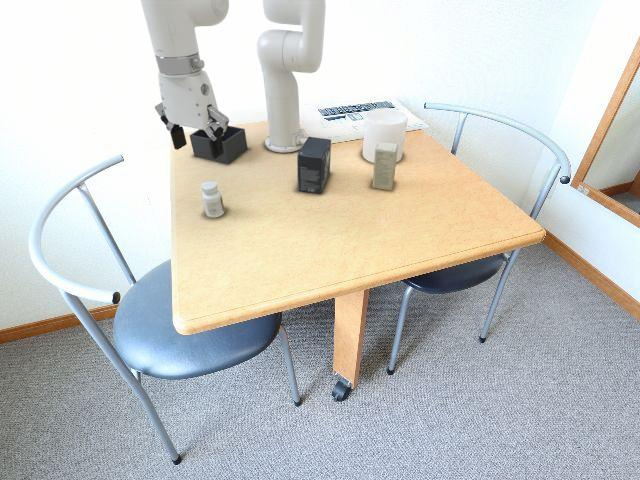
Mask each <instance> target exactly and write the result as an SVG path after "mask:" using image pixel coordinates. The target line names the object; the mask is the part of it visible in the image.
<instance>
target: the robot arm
mask: <svg viewBox="0 0 640 480" xmlns="http://www.w3.org/2000/svg"><path fill="white" fill-rule="evenodd" d="M140 4H141V8H142V11H143V15H144V19H145V23H146V26H147V30H148V34H149V38H150V42H151V45H152V50H153V54H154V57H155V61H156V65H157V68H158V71H157V75H158V76H157V77H158V87H159V93H160V98H161V102H160V103H158V104H157V105H155V106H154V110H155V111H156V113H157V114H158V116H159V117H160V120H161V122H162V123H163V124H164V125H165V128H166V130H167V131H168V132H169V134H170V137H171V141H172V144H173V148H174V150H176V151H178V150H180V149H182V148H184V147H185V146H186V145H187V144H188V142H187V138H186V134H185V130H184V127H186V128H191V129H196V130H199V129H201V130H204V131H205V132H206V133H207V135H208V136H209V137H210V138H211V139H210V140H209V145H210V150H211V155H212V158H214V159H216V158H217V157H219V156H220V155H222V154H223V153H224V150H223V144H222V138H221V136H223V135H224V133H225V132H226V130H227V126H229V122H230V118H229V117H228V116H227V115H225V114H224V113H222V112H221V111H220V110H219V109H218V104H217V100H216V96H215V93H214V89H213V86H212V83H211V80H210V77H209V75H208V73H207V71H206V70H203V69H204V68H205V65H206V64H205V61H204V60H203V59H201V56H200V55H201V54H200V51H199V45H198V39H197V34H196V28H197V27H214V26H217V25H219V24H221V23H223V21H224V20H225V19H226V18H227V16H228V13H229V8H230V1H229V0H140ZM326 7H327V6H326V0H262V8H263V14H264V17H265V18H266V19H267V20H268V22H271V23H274V24H279V25H280V24H281V25H291V26H301V29H302V31H298V30H297V31H296V30H287V29H268V30H265V31H264V32H262V33H261V34H260V35H259V36H258V39H257V41H256V53H257V57H258V61H259V65H260V68H261V72H262V73H261V74H262V76H263V77H262V78H263V84H264V94H265V105H266V114H267V124H268V126H267V127H268V134H269V135H268V136H267V137H266V139H265V140H264V145H265V148H266V149H268V150H269V151H272V152H276V153H282V154H283V153H284V154H286V153H293V152H297V151H300V149H301V148H302V146H303V145H304V143H305V142H306V140H307V138H308V137H312V136H311V135H308V134H305V133H304V129H303V128H301V123H300V122H301V121H300V120H301V119H300V100H299V99H300V97H299V94H300V93H299V84H298V81H297V79H296V76H295V75H294V73H302V74H314V73H316V72H318V70H319V68H320V67H321V64H322V59H323V51H324V40H325V39H324V38H325V37H324V36H325V25H326V24H325V23H326ZM217 124H219V126H218V125H217ZM211 126H212V128H213V129H214V130H215V132H213V131H212V130H211V128H210V127H211Z"/></svg>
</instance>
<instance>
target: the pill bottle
mask: <svg viewBox="0 0 640 480" xmlns="http://www.w3.org/2000/svg"><path fill="white" fill-rule="evenodd" d="M201 192H202V193H201V199H202V203H203V208H204V212H205V215H206V216H207V217H209V218H218V217H221V216H222V215H224V214H225V205H224V201H223V196H222V191H220V190H219V187H218V183H217V182H216V181H213V180H209V181H205V182H203V183H202V184H201Z"/></svg>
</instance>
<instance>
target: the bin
mask: <svg viewBox="0 0 640 480" xmlns="http://www.w3.org/2000/svg"><path fill="white" fill-rule="evenodd" d="M217 125H218V126H219V123H217ZM210 128H211V130H212V131H213V132H215V130H214V129H213V128H212V126H211V127H210ZM221 138H222V144H223V150H224V153H223V154H222V155H220V156H219V157H217V158H216V159H214V158H212V155H211V150H210V145H209V140H210V139H211V138H210V137H209V136H208V135H207V133H206V132H205V131H204V130H201V129H196V131H194V132H192V133H191V134H189V140H190V144H191V148H192V153H193V155H194V157H195V158H196V157H197V158H201V159H205V160H209V161H212V162H218V163H222V164H226V165H229V164H231V163H232V162H234V160H236V159H237V158H239V157H240V156H241V155H242V154H244V153H245V152H246V151H247V150H248V149H249V147H248V142H247V135H246V129H245V128H242V127H238V126H237V127H236V126H232V125H228V126H227V130H226V132H225V133H224V135H223V136H221Z"/></svg>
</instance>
